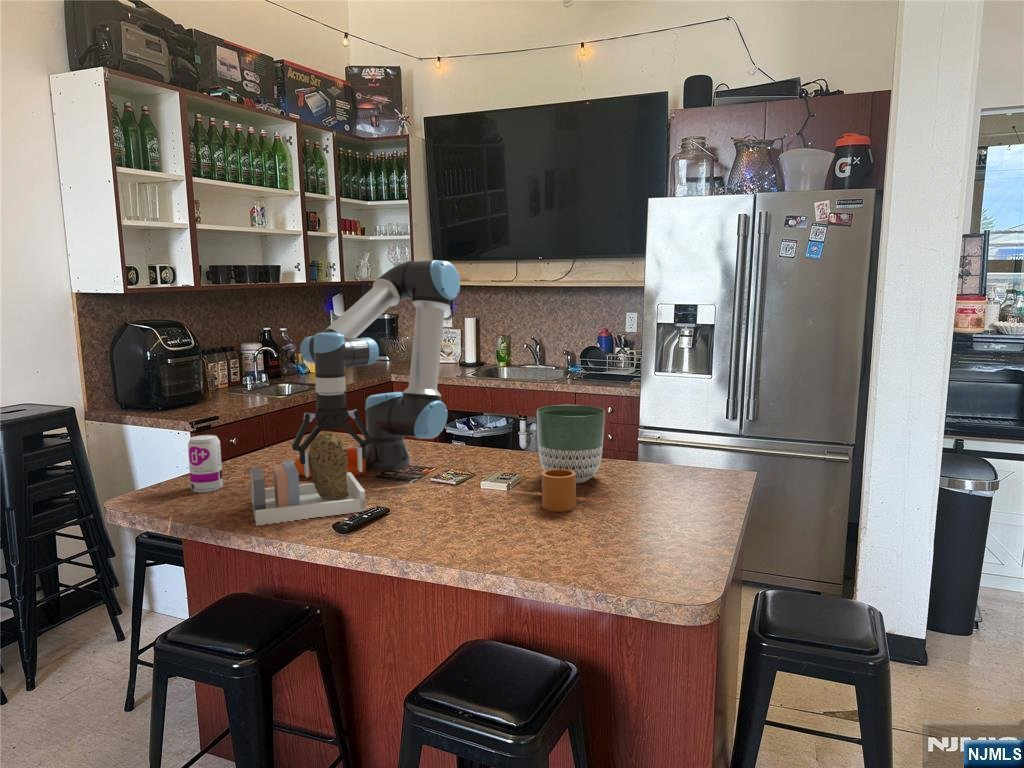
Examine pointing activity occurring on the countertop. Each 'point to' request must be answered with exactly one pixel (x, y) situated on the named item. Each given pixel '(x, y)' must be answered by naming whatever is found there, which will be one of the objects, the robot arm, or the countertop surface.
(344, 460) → the sponge
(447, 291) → the robot arm
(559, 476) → the mug
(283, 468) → the book row
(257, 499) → the dark gray book
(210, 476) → the supplement can
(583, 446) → the planter
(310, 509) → the white tray
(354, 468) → the tape dispenser
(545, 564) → the countertop surface
